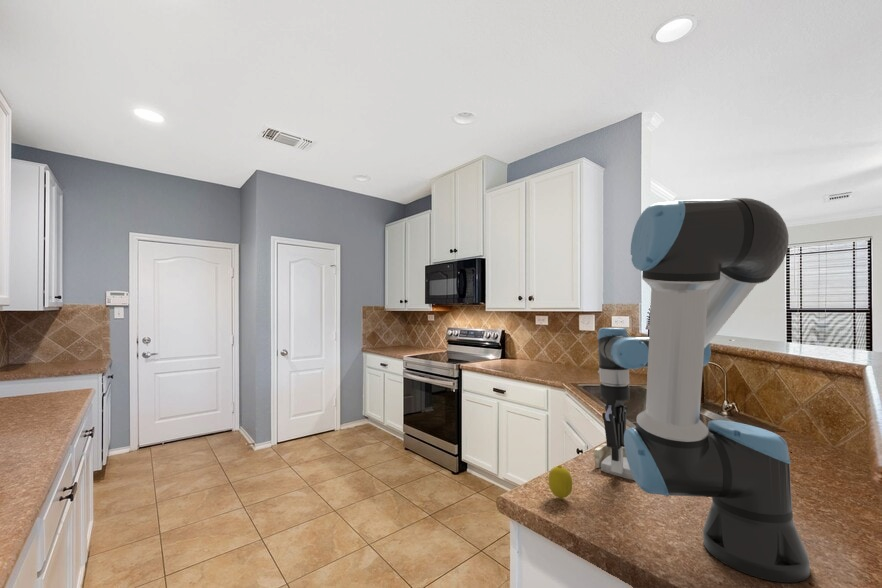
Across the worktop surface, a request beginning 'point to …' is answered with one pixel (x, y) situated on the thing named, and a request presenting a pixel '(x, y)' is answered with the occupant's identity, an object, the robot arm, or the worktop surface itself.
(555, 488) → the lemon
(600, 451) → the cradle
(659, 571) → the worktop surface
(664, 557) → the worktop surface
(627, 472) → the grey stone block
